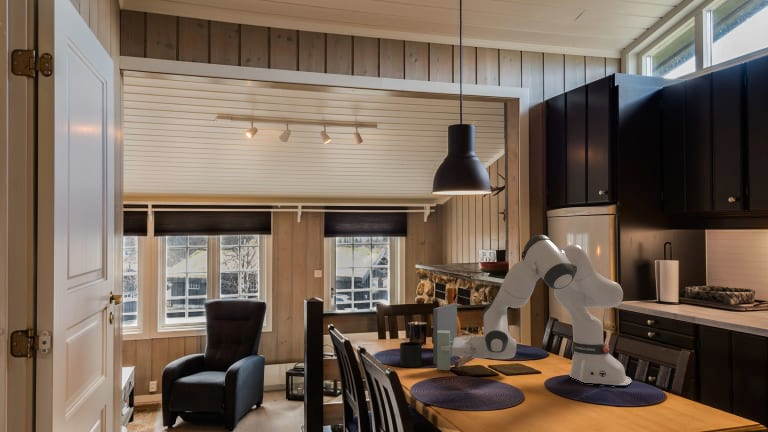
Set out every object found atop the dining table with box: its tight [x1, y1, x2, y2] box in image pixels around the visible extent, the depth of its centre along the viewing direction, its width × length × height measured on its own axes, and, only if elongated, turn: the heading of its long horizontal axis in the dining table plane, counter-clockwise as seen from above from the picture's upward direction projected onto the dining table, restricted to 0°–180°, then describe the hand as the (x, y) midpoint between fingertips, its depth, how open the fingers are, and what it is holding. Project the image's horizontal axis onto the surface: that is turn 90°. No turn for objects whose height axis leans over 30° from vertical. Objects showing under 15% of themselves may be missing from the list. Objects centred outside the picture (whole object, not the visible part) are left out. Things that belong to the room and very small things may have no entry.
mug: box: [399, 341, 423, 368], centre depth 230 cm, size 9×12×9 cm
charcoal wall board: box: [432, 302, 475, 368], centre depth 237 cm, size 12×22×24 cm, turn 150°
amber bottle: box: [446, 287, 461, 337], centre depth 262 cm, size 10×10×30 cm
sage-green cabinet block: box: [436, 330, 451, 371], centre depth 218 cm, size 5×5×15 cm
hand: (441, 346), depth 218 cm, fingers closed on sage-green cabinet block, 5 cm apart
